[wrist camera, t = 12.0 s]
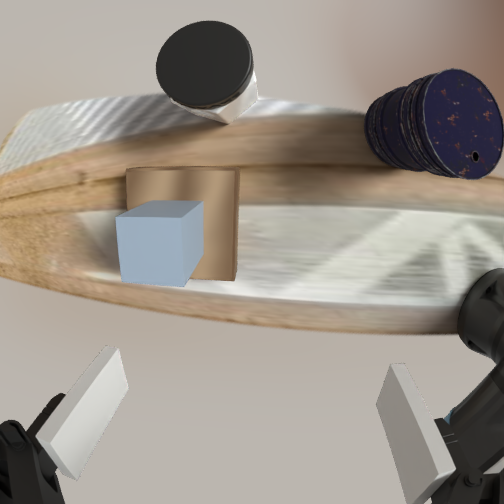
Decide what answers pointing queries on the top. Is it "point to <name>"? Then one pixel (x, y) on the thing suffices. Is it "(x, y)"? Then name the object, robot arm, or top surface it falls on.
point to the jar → (208, 70)
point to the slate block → (160, 242)
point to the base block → (214, 208)
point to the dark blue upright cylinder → (438, 126)
